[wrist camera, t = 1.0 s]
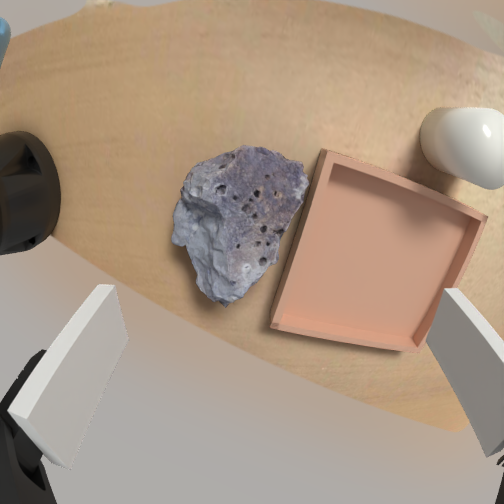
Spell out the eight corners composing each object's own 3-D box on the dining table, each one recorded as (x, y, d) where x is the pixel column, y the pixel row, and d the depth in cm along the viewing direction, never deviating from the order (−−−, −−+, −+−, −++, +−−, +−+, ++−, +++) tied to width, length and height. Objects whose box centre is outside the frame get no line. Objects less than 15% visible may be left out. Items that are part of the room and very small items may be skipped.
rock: (247, 310, 32) (271, 332, 23) (155, 281, 31) (139, 291, 21) (287, 185, 34) (324, 158, 24) (200, 153, 32) (206, 112, 22)
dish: (269, 312, 35) (269, 328, 32) (321, 148, 27) (327, 151, 25) (411, 338, 36) (419, 353, 33) (474, 208, 28) (488, 216, 26)
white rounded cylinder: (412, 158, 27) (453, 171, 20) (428, 96, 24) (473, 93, 17) (460, 181, 27) (504, 200, 20) (476, 124, 24) (523, 131, 17)
